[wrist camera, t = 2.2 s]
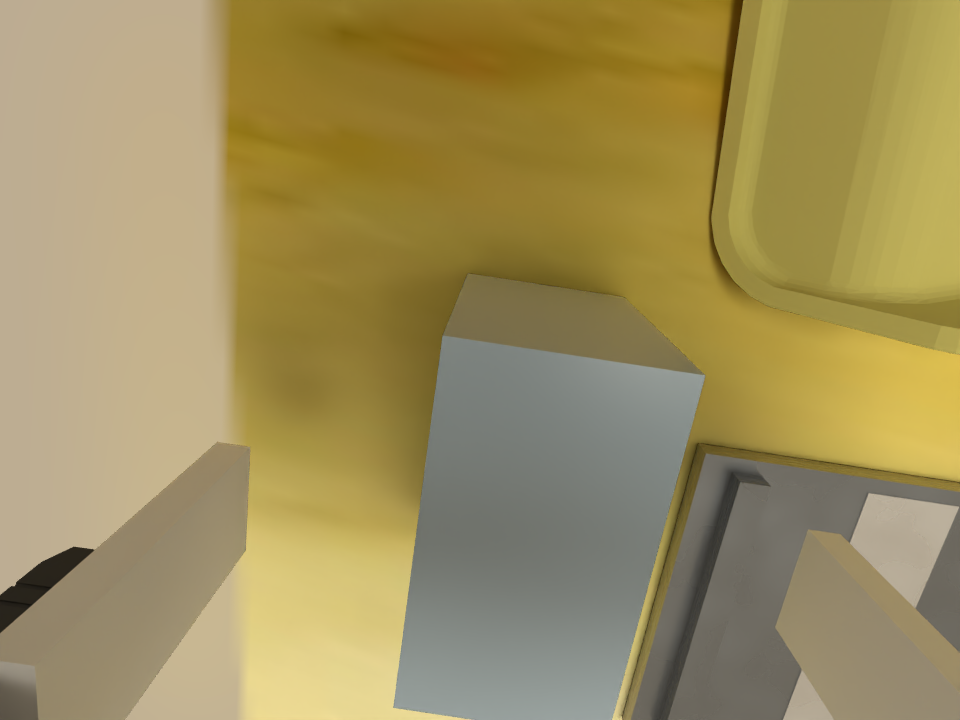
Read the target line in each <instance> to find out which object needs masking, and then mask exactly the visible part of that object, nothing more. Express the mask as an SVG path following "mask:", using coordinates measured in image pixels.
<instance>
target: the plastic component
mask: <svg viewBox="0 0 960 720" xmlns="http://www.w3.org/2000/svg"><path fill="white" fill-rule="evenodd" d="M711 221H712V228H713V236H714V243H715V246H716V248H717V251H718V254H719V257H720V259H721V262H722V264H723V265H724V267H725V268H726V270H727V272H728V273H729V275H730V276H731V278H732V279H733V281H734V282H735V283H736V284H737V285H739V286H740V287H741V288H742V289H743V290H744V291H745V292H746V293H747V294H748V295H749V296H751V297H752V298H754V299H756V300H758V301H760V302H761V303H763V304H765V305H767V306H769V307H772V308H776V309H780V310H784V311H787V312H791V313H795V314H799V315H803V316H807V317H810V318H814V319H818V320H822V321H826V322H830V323H833V324H837V325H841V326H845V327H849V328H853V329H856V330H860V331H864V332H868V333H872V334H875V335H879V336H883V337H887V338H891V339H895V340H898V341H902V342H906V343H910V344H914V345H918V346H921V347H925V348H929V349H933V350H938V351H943V352H948V353H953V354H959V355H960V0H743V6H742V12H741V19H740V26H739V33H738V40H737V46H736V53H735V60H734V67H733V73H732V80H731V87H730V94H729V101H728V107H727V114H726V121H725V128H724V134H723V141H722V148H721V155H720V162H719V168H718V175H717V182H716V189H715V196H714V202H713V209H712V216H711Z"/></svg>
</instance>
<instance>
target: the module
mask: <svg viewBox="0 0 960 720" xmlns="http://www.w3.org/2000/svg"><path fill="white" fill-rule="evenodd" d="M704 379H705V375H704V374H703V373H702V372H701V371H700V370H699V369H698V368H697V367H696V366H695V365H694V364H693V363H692V362H691V361H690V360H689V359H688V358H687V357H686V356H685V355H684V354H683V353H682V352H681V351H680V350H679V349H677V348H676V347H675V346H674V345H673V344H672V343H671V342H670V341H669V340H668V339H667V338H666V337H665V336H664V335H663V334H662V333H661V332H660V331H659V330H658V329H657V328H656V327H655V326H654V325H653V324H652V323H651V322H650V321H648V320H647V319H646V318H645V317H644V316H643V315H642V314H641V313H640V312H639V311H638V310H637V309H636V308H635V307H634V306H633V305H632V304H631V303H630V302H629V301H628V300H627V299H626V298H625V297H621V296H614V295H607V294H601V293H594V292H588V291H581V290H575V289H568V288H562V287H555V286H548V285H542V284H535V283H529V282H522V281H516V280H509V279H503V278H496V277H489V276H483V275H476V274H470V273H468V274H467V277H466V279H465V282H464V284H463V286H462V289H461V291H460V294H459V296H458V299H457V301H456V304H455V306H454V309H453V311H452V314H451V316H450V319H449V321H448V323H447V326H446V328H445V331H444V333H443V336H442V344H441V352H440V359H439V367H438V374H437V382H436V389H435V396H434V403H433V411H432V418H431V426H430V433H429V441H428V449H427V456H426V464H425V471H424V479H423V486H422V494H421V502H420V509H419V517H418V524H417V532H416V539H415V547H414V554H413V562H412V570H411V577H410V585H409V592H408V600H407V607H406V615H405V623H404V630H403V639H402V646H401V654H400V661H399V669H398V676H397V684H396V692H395V699H394V707H393V708H399V709H405V710H412V711H419V712H425V713H432V714H439V715H445V716H452V717H459V718H465V719H472V720H612V718H613V714H614V710H615V707H616V703H617V699H618V696H619V692H620V688H621V685H622V681H623V677H624V674H625V670H626V666H627V663H628V659H629V655H630V652H631V648H632V644H633V641H634V637H635V633H636V629H637V626H638V622H639V618H640V615H641V611H642V607H643V604H644V600H645V596H646V593H647V589H648V585H649V582H650V578H651V574H652V571H653V567H654V563H655V560H656V556H657V552H658V548H659V545H660V541H661V537H662V534H663V530H664V526H665V523H666V519H667V515H668V512H669V508H670V504H671V501H672V497H673V493H674V490H675V486H676V482H677V478H678V475H679V471H680V467H681V464H682V460H683V456H684V453H685V449H686V445H687V442H688V438H689V434H690V431H691V427H692V423H693V420H694V416H695V412H696V409H697V405H698V401H699V397H700V394H701V390H702V386H703V383H704Z"/></svg>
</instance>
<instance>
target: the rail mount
mask: <svg viewBox="0 0 960 720" xmlns="http://www.w3.org/2000/svg"><path fill="white" fill-rule="evenodd" d="M808 529H809V530H816V531H823V532H829V533H836V534H841V535H842V536H843V537H844V538H845V539H846V540H847V541H848V542H849V543H850V544H851V545H852V546H853V547H854V548H855V549H856V550H857V551H858V552H859V553H860V554H861V555H862V556H863V557H864V558H865V559H866V560H867V561H868V562H869V563H870V564H871V565H872V566H873V567H874V568H875V569H876V570H877V571H878V572H879V573H880V574H881V575H882V576H883V577H884V578H885V579H886V580H887V581H888V582H889V583H890V584H891V585H892V586H893V587H894V588H895V589H896V590H897V591H898V592H899V593H900V594H901V595H902V596H903V597H904V598H905V599H906V600H907V601H908V602H909V603H910V604H911V605H912V606H913V607H914V608H915V609H916V610H917V611H918V612H919V613H920V614H921V615H922V616H923V617H924V618H925V619H926V620H927V621H928V622H929V623H930V624H931V625H932V626H933V627H934V628H935V629H936V630H937V631H938V632H939V633H940V634H941V635H942V636H943V637H944V638H945V639H946V640H947V641H948V642H949V643H950V644H951V645H952V646H953V647H954V648H955V649H956V650H957V651H958V652H959V653H960V483H958V482H952V481H945V480H938V479H932V478H925V477H919V476H912V475H905V474H899V473H892V472H886V471H879V470H872V469H866V468H859V467H852V466H846V465H839V464H833V463H826V462H819V461H813V460H806V459H800V458H793V457H786V456H780V455H773V454H767V453H760V452H753V451H747V450H740V449H733V448H727V447H720V446H714V445H707V444H700V443H698V446H697V450H696V453H695V457H694V460H693V464H692V468H691V471H690V475H689V478H688V482H687V486H686V489H685V493H684V497H683V500H682V504H681V507H680V511H679V515H678V518H677V522H676V525H675V529H674V533H673V536H672V540H671V543H670V547H669V551H668V554H667V558H666V562H665V565H664V569H663V572H662V576H661V580H660V583H659V587H658V590H657V594H656V598H655V601H654V605H653V609H652V612H651V616H650V619H649V623H648V627H647V630H646V634H645V637H644V641H643V645H642V648H641V652H640V656H639V659H638V663H637V666H636V670H635V674H634V677H633V681H632V684H631V688H630V692H629V695H628V699H627V702H626V706H625V710H624V713H623V717H622V719H623V720H834V719H833V717H832V716H831V714H830V712H829V711H828V709H827V708H826V706H825V705H824V703H823V701H822V700H821V698H820V697H819V695H818V694H817V692H816V691H815V689H814V687H813V686H812V684H811V683H810V681H809V680H808V678H807V676H806V675H805V673H804V672H803V670H802V669H801V667H800V666H799V664H798V662H797V661H796V659H795V658H794V656H793V655H792V653H791V651H790V650H789V648H788V647H787V645H786V644H785V642H784V640H783V639H782V637H781V636H780V634H779V633H778V631H777V630H776V628H775V626H776V623H777V620H778V617H779V614H780V611H781V609H782V606H783V603H784V600H785V597H786V594H787V591H788V588H789V585H790V582H791V579H792V576H793V573H794V570H795V567H796V564H797V561H798V558H799V555H800V552H801V549H802V546H803V543H804V540H805V537H806V534H807V531H808Z"/></svg>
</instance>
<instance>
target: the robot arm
mask: <svg viewBox="0 0 960 720" xmlns="http://www.w3.org/2000/svg"><path fill="white" fill-rule="evenodd" d="M249 465H250V447H247V446H240V445H233V444H226V443H220V442H217V443H216V444H215V445H214V446H212V447H211V448H210V449H209V450H208V451H207V452H206V453H205V454H203V455H202V456H201V457H200V458H199V459H198V460H197V461H196V462H195V463H193V464H192V465H191V466H190V467H189V468H188V469H186V470H185V471H184V472H183V473H182V474H181V475H180V476H178V477H177V478H176V479H175V480H174V481H173V482H172V483H170V484H169V485H168V486H167V487H166V488H165V489H164V490H163V491H161V492H160V493H159V494H158V495H157V496H156V497H155V498H153V499H152V500H151V501H150V502H149V503H148V504H147V505H145V506H144V507H143V508H142V509H141V510H140V511H139V512H138V513H137V514H135V515H134V516H133V517H132V518H131V519H130V520H128V521H127V522H126V523H125V524H124V525H123V526H122V527H121V528H119V529H118V530H117V531H116V532H115V533H114V534H113V535H112V536H110V537H109V538H108V539H107V540H106V541H105V542H103V543H102V544H101V545H100V546H99V547H98V548H97V549H95V550H93V549H87V548H79V547H72V548H70V549H68V550H66V551H64V552H62V553H59V554H57V555H55V556H53V557H51V558H49V559H47V560H45V561H43V562H41V563H40V564H38V565H37V566H36V567H35V568H33V569H32V570H31V571H30V572H28V573H27V574H26V575H25V576H24V577H22V578H21V579H20V580H18V581H17V582H16V585H15V586H11V587H10V588H8V589H7V590H6V591H5V592H4V593H2V594H1V595H0V720H125V719H126V718H127V716H128V715H129V713H130V712H131V711H132V709H133V708H134V706H135V705H136V703H137V702H138V701H139V699H140V698H141V697H142V695H143V694H144V692H145V691H146V689H147V688H148V687H149V685H150V684H151V682H152V681H153V680H154V678H155V677H156V675H157V674H158V673H159V671H160V670H161V668H162V667H163V665H164V664H165V663H166V661H167V660H168V659H169V657H170V656H171V654H172V653H173V651H174V650H175V649H176V647H177V646H178V645H179V643H180V642H181V640H182V639H183V637H184V636H185V635H186V633H187V632H188V630H189V629H190V628H191V626H192V625H193V623H194V622H195V621H196V619H197V618H198V616H199V615H200V614H201V612H202V611H203V609H204V608H205V607H206V605H207V604H208V602H209V601H210V600H211V598H212V597H213V595H214V594H215V592H216V591H217V589H218V588H219V587H220V586H221V584H222V583H223V581H224V580H225V578H226V577H227V576H228V574H229V573H230V571H231V570H232V569H233V567H234V566H235V564H236V563H237V562H238V560H239V559H240V557H241V556H242V555H243V553H244V552H245V550H246V531H247V509H248V487H249ZM775 628H776V630H777V631H778V633H779V634H780V636H781V637H782V639H783V640H784V642H785V644H786V645H787V647H788V648H789V650H790V651H791V653H792V655H793V656H794V658H795V659H796V661H797V662H798V664H799V666H800V667H801V669H802V670H803V672H804V673H805V675H806V676H807V678H808V680H809V681H810V683H811V684H812V686H813V687H814V689H815V691H816V692H817V694H818V695H819V697H820V698H821V700H822V701H823V703H824V705H825V706H826V708H827V709H828V711H829V712H830V714H831V716H832V717H833V719H834V720H960V653H959V652H958V651H957V650H956V649H955V648H954V647H953V646H952V645H951V644H950V643H949V642H948V641H947V640H946V639H945V638H944V637H943V636H942V635H941V634H940V633H939V632H938V631H937V630H936V629H935V628H934V627H933V626H932V625H931V624H930V623H929V622H928V621H927V620H926V619H925V618H924V617H923V616H922V615H921V614H920V613H919V612H918V611H917V610H916V609H915V608H914V607H913V606H912V605H911V604H910V603H909V602H908V601H907V600H906V599H905V598H904V597H903V596H902V595H901V594H900V593H899V592H898V591H897V590H896V589H895V588H894V587H893V586H892V585H891V584H890V583H889V582H888V581H887V580H886V579H885V578H884V577H883V576H882V575H881V574H880V573H879V572H878V571H877V570H876V569H875V568H874V567H873V566H872V565H871V564H870V563H869V562H868V561H867V560H866V559H865V558H864V557H863V556H862V555H861V554H860V553H859V552H858V551H857V550H856V549H855V548H854V547H853V546H852V545H851V544H850V543H849V542H848V541H847V540H846V539H845V538H844V537H843V536H842V535H841V534H836V533H829V532H823V531H816V530H809V529H808V531H807V534H806V537H805V540H804V543H803V546H802V549H801V552H800V555H799V558H798V561H797V564H796V567H795V570H794V573H793V576H792V579H791V582H790V585H789V588H788V591H787V594H786V597H785V600H784V603H783V606H782V609H781V611H780V614H779V617H778V620H777V623H776V626H775Z"/></svg>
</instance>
